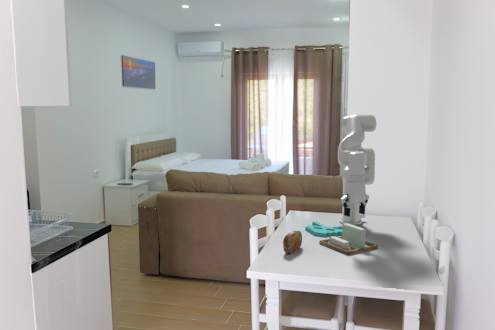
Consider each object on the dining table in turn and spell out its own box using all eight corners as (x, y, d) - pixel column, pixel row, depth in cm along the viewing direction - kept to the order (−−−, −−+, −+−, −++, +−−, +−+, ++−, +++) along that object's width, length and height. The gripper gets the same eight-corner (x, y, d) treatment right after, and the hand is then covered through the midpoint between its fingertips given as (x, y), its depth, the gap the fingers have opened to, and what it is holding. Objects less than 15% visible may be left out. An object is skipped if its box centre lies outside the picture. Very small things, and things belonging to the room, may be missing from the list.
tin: (288, 255, 189) (288, 237, 188) (281, 254, 191) (281, 236, 189) (302, 246, 202) (303, 229, 200) (296, 245, 203) (296, 228, 202)
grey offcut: (334, 241, 205) (334, 236, 205) (348, 247, 197) (349, 241, 196) (329, 242, 204) (329, 236, 203) (343, 248, 195) (344, 242, 195)
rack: (348, 237, 216) (348, 234, 216) (377, 248, 200) (378, 244, 200) (319, 243, 206) (319, 240, 206) (347, 255, 190) (347, 251, 190)
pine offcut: (332, 244, 206) (332, 240, 206) (350, 252, 196) (350, 247, 196) (327, 245, 205) (328, 241, 204) (345, 253, 194) (345, 249, 194)
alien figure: (313, 225, 241) (300, 234, 223) (313, 221, 240) (300, 230, 223) (349, 229, 231) (338, 239, 214) (349, 225, 231) (338, 235, 214)
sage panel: (346, 241, 211) (347, 223, 210) (364, 247, 201) (365, 229, 199) (341, 242, 209) (342, 223, 208) (360, 248, 199) (361, 230, 198)
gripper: (363, 176, 208) (361, 211, 210) (336, 178, 199) (335, 215, 201) (375, 178, 202) (373, 214, 204) (348, 181, 193) (346, 218, 195)
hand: (354, 214), depth 202 cm, fingers open, 9 cm apart
